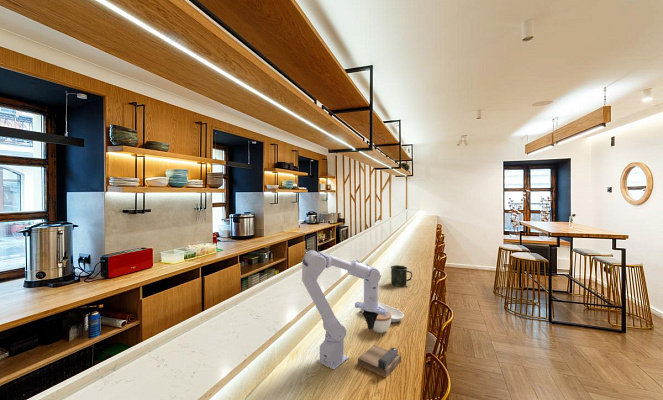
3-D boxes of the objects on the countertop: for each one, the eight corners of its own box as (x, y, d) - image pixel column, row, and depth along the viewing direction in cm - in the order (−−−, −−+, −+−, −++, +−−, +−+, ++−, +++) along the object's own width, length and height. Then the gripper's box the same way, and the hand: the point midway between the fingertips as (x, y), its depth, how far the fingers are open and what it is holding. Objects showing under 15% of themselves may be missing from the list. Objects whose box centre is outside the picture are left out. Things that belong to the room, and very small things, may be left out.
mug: (391, 281, 207) (391, 264, 207) (412, 283, 203) (412, 266, 202) (389, 286, 197) (389, 268, 196) (411, 288, 192) (412, 270, 192)
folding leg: (392, 352, 113) (392, 346, 113) (398, 355, 111) (398, 348, 111) (378, 367, 104) (378, 360, 104) (384, 369, 102) (384, 362, 102)
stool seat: (386, 377, 102) (386, 370, 102) (357, 364, 110) (357, 358, 110) (401, 361, 112) (401, 355, 112) (374, 350, 119) (374, 344, 119)
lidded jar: (373, 337, 130) (373, 316, 130) (364, 326, 141) (364, 307, 140) (395, 333, 133) (395, 313, 133) (385, 323, 143) (385, 304, 143)
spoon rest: (407, 319, 148) (407, 305, 148) (397, 328, 139) (397, 313, 139) (367, 307, 163) (367, 295, 162) (356, 314, 154) (356, 301, 153)
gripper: (391, 297, 117) (391, 330, 117) (361, 289, 126) (361, 320, 126) (383, 302, 111) (382, 337, 112) (352, 294, 120) (352, 326, 121)
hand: (370, 328), depth 119 cm, fingers closed
